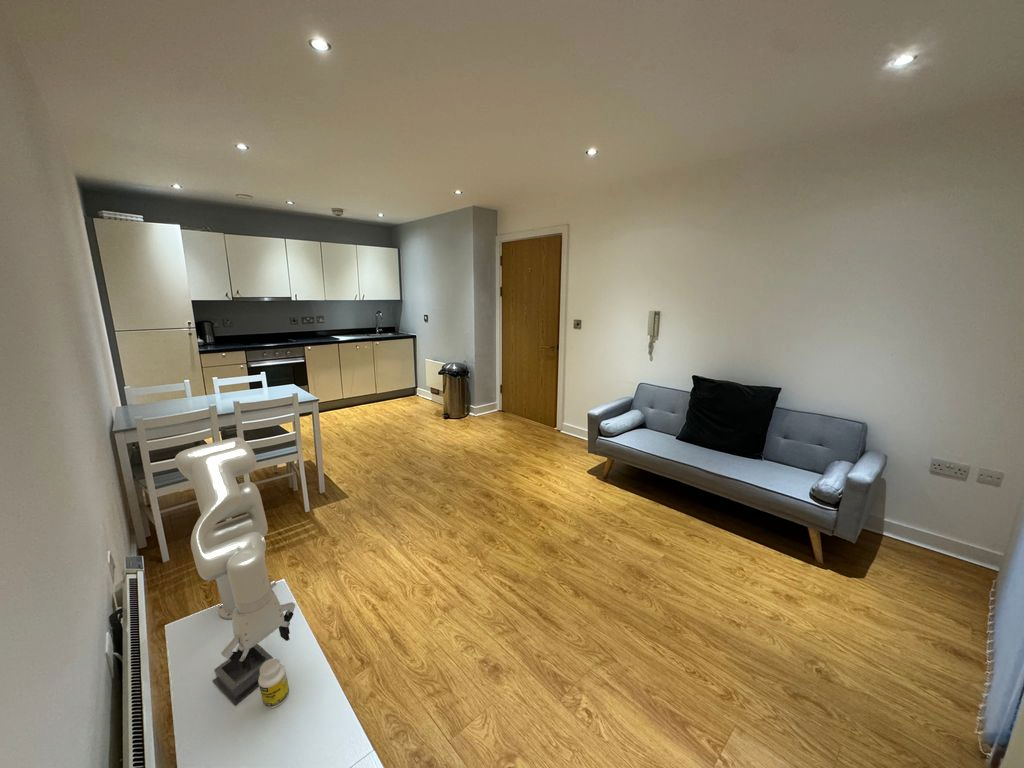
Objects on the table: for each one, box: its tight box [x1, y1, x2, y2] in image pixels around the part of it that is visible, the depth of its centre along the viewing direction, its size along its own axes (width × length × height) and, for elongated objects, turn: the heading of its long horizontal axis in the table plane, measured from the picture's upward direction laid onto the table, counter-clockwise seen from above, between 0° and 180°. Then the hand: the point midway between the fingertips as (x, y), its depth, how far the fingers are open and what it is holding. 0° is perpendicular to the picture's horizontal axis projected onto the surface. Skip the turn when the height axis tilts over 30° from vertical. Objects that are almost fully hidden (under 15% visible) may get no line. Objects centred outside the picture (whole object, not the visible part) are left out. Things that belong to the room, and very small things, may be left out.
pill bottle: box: [258, 657, 290, 709], centre depth 106 cm, size 6×6×11 cm
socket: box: [211, 643, 274, 707], centre depth 113 cm, size 12×12×4 cm
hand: (266, 652), depth 103 cm, fingers open, 9 cm apart
